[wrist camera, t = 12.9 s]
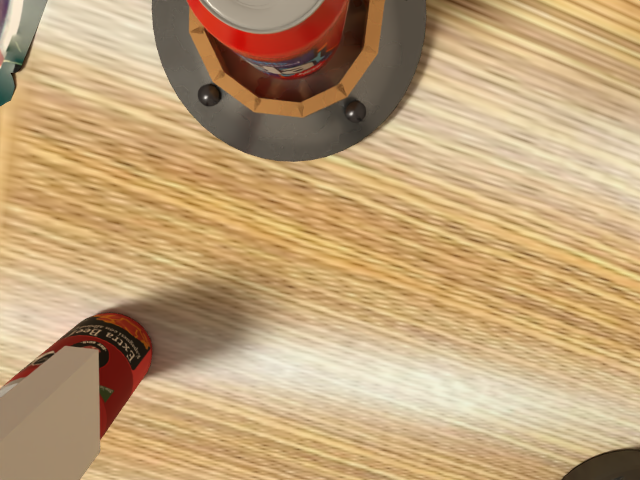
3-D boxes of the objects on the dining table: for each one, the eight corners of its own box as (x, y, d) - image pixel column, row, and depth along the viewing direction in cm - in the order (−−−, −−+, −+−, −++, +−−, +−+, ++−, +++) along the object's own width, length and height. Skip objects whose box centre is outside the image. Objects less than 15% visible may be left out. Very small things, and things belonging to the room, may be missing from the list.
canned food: (167, 330, 39) (109, 408, 28) (138, 396, 41) (73, 493, 30) (87, 295, 38) (-3, 363, 28) (62, 365, 40) (-32, 453, 30)
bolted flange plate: (445, -116, 29) (461, -146, 26) (400, 172, 35) (408, 178, 31) (157, -151, 29) (135, -187, 26) (156, 146, 34) (138, 149, 31)
